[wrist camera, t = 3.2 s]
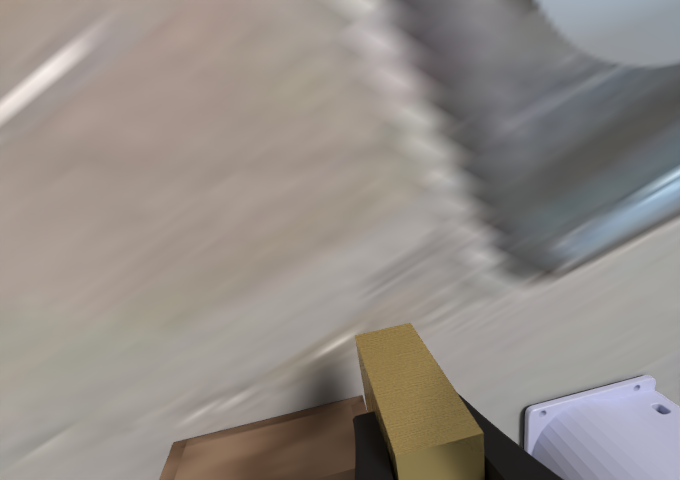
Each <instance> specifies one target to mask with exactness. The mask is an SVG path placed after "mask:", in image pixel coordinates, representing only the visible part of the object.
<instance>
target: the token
mask: <svg viewBox="0 0 680 480" xmlns="http://www.w3.org/2000/svg"><path fill="white" fill-rule="evenodd" d="M355 340H356V346H357V352H358V358H359V364H360V370H361V376H362V382H363V388H364V393H365V399H366V405H367V411H368V413H369V412H372V411H374V413H375V416H376V418H377V421H378V424H379V426H380V429H381V432H382V435H383V438H384V440H385V444H386V449H387V453H388V458H389V462H390V467H391V471H392V475H393V480H485V468H484V433H483V431H482V430H481V428H480V427H479V425H478V424H477V422H476V421H475V419H474V418H473V416H472V415H471V413H470V412H469V410H468V409H467V407H466V406H465V404H464V403H463V401H462V400H461V398H460V397H459V395H458V394H457V392H456V391H455V389H454V388H453V386H452V385H451V383H450V382H449V380H448V379H447V377H446V376H445V374H444V373H443V371H442V370H441V368H440V367H439V365H438V364H437V362H436V361H435V359H434V358H433V356H432V355H431V353H430V352H429V350H428V349H427V347H426V346H425V344H424V343H423V341H422V340H421V338H420V337H419V335H418V334H417V332H416V331H415V329H414V328H413V326H412V325H411V323H408V324H404V325H399V326H395V327H391V328H386V329H382V330H377V331H373V332H369V333H364V334H360V335H356V336H355Z"/></svg>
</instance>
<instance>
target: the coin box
mask: <svg viewBox="0 0 680 480" xmlns="http://www.w3.org/2000/svg"><path fill="white" fill-rule="evenodd" d="M365 413H367V410H366V407H365V403H364V400H363V396H358V397H354V398H350V399H346V400H342V401H338V402H334V403H330V404H326V405H322V406H318V407H314V408H310V409H306V410H302V411H298V412H294V413H290V414H286V415H282V416H278V417H274V418H270V419H266V420H262V421H258V422H254V423H250V424H246V425H242V426H238V427H234V428H230V429H226V430H222V431H218V432H214V433H210V434H206V435H202V436H198V437H194V438H190V439H186V440H182V441H178V442H174V443H173V445H172V448H171V450H170V453H169V456H168V458H167V461H166V463H165V466H164V469H163V471H162V474H161V477H160V479H159V480H355V432H354V425H353V418H354V417H355V416H357V415H361V414H365Z"/></svg>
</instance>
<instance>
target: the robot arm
mask: <svg viewBox="0 0 680 480" xmlns="http://www.w3.org/2000/svg"><path fill="white" fill-rule="evenodd" d="M655 384H656V380H655V379H654V378H653V377H651V376H649V375H644V376H640V377H636V378H633V379H629V380H625V381H622V382H618V383H614V384H610V385H607V386H603V387H599V388H595V389H592V390H588V391H584V392H581V393H577V394H573V395H569V396H566V397H562V398H558V399H554V400H551V401H547V402H543V403H539V404H536V405H532V406H530V407H528V408H527V409H526V412H525V437H524V449H522V448H521V447H520V446H519V445H517V444H516V443H515V442H514V441H513V440H511V439H510V438H509V437H508V436H506V435H505V434H504V433H503V432H501V431H500V430H499V429H498V428H497V427H495V426H494V425H493V424H492V423H491V422H490V421H488V420H487V419H486V418H485V417H484V416H483V415H481V414H480V413H479V412H478V411H477V410H476V409H475V408H474V407H472V406H471V405H470V404H469V403H468V402H467V401H466V400H465V399H464V398H462V397H461V396H460V395H459V394H458V393H457V394H458V395H459V397H460V398H461V400H462V401H463V403H464V404H465V406H466V407H467V409H468V410H469V412H470V413H471V415H472V416H473V418H474V419H475V421H476V422H477V424H478V425H479V427H480V428H481V430H482V431H483V433H484V468H485V480H680V407H679V406H678V405H676V404H675V403H673V402H672V401H671V400H669V399H668V398H666V397H665V396H663V395H662V394H660V393H659V392H657V391H656V390H655ZM353 425H354V432H355V480H393V475H392V471H391V467H390V462H389V458H388V453H387V449H386V444H385V440H384V438H383V435H382V432H381V429H380V426H379V424H378V421H377V418H376V416H375V413H374V411H372V412H369V413H365V414H361V415H357V416H355V417H354V418H353Z"/></svg>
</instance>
